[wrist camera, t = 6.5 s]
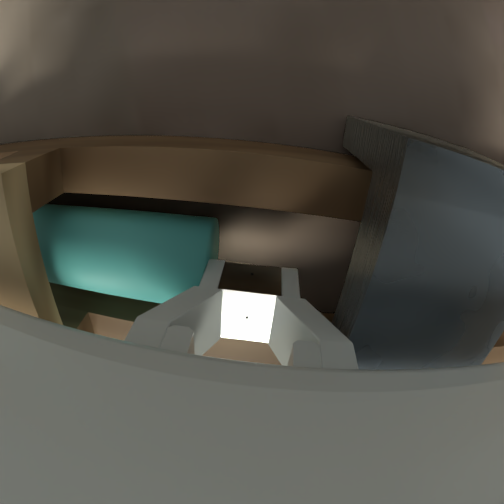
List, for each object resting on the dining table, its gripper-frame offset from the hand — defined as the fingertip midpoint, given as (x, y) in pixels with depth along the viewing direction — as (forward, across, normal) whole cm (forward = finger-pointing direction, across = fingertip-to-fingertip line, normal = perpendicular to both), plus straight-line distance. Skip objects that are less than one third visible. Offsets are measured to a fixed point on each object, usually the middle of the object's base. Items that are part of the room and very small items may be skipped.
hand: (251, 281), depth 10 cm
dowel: (+2, +6, 0) cm, 7 cm away
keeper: (+2, -5, 0) cm, 5 cm away
